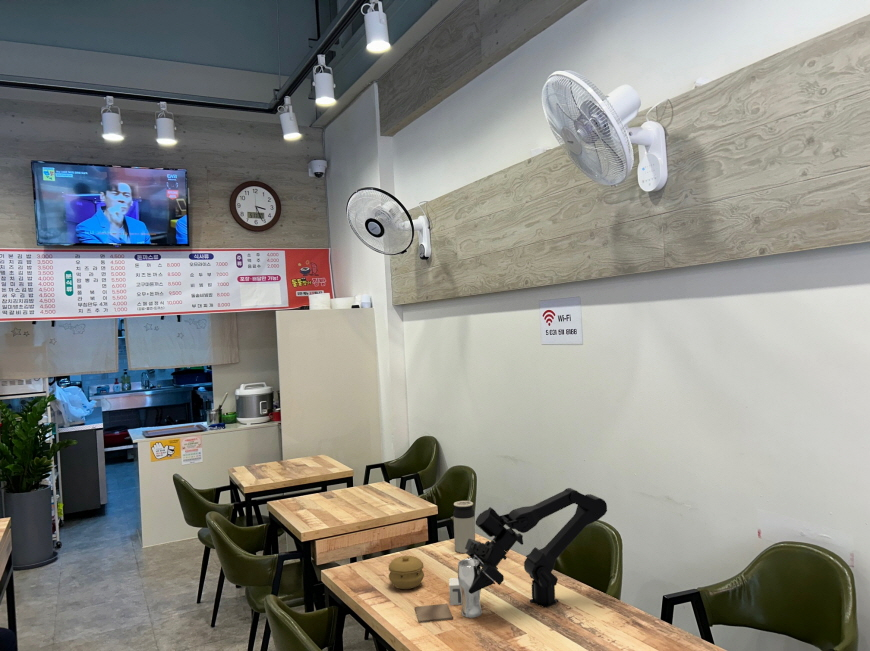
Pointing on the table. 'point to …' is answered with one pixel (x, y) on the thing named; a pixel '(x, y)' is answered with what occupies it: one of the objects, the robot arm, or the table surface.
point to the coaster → (433, 613)
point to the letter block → (454, 592)
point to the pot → (406, 572)
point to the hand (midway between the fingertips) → (466, 588)
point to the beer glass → (466, 580)
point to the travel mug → (463, 525)
